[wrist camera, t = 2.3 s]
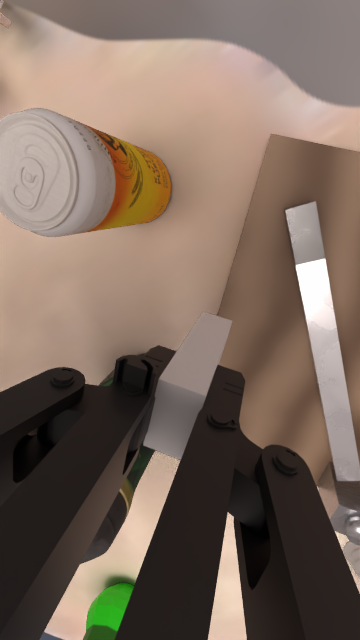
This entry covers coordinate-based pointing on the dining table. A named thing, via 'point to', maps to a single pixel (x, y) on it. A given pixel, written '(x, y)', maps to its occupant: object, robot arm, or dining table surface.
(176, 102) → the dining table surface
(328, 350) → the arm
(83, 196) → the beer can
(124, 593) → the plastic bottle
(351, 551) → the chalice
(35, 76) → the dining table surface
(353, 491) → the grey l-shaped bar
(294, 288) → the cutting board
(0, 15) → the spiral staircase
